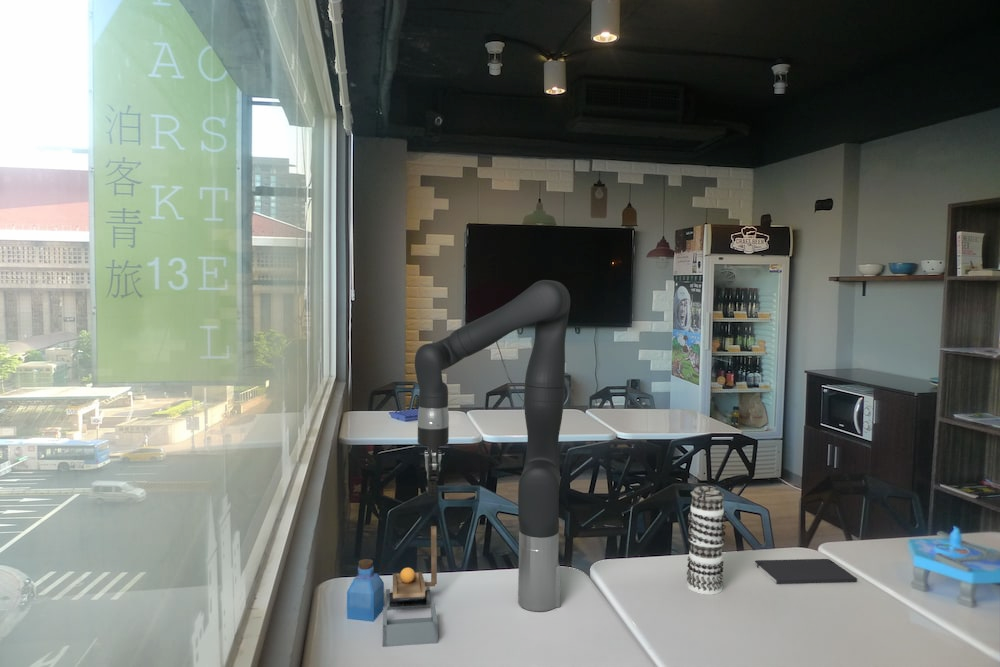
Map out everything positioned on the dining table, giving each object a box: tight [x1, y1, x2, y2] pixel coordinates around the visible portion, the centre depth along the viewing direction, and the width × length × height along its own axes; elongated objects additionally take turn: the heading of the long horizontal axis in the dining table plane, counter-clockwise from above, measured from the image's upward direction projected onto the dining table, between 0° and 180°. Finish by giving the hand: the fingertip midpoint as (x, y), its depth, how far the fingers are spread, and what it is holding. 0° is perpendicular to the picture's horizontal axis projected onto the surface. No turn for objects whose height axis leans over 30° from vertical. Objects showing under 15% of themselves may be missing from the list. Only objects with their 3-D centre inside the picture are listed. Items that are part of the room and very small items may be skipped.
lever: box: [392, 525, 438, 598], centre depth 160 cm, size 10×17×14 cm, turn 9°
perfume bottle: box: [346, 558, 385, 623], centre depth 154 cm, size 6×6×12 cm
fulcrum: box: [385, 587, 431, 611], centre depth 159 cm, size 10×5×3 cm, turn 99°
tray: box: [382, 603, 439, 648], centre depth 145 cm, size 11×10×4 cm
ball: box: [400, 567, 416, 583], centre depth 165 cm, size 4×4×4 cm
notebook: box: [754, 558, 858, 585], centre depth 180 cm, size 13×2×21 cm
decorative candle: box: [686, 485, 728, 596], centre depth 169 cm, size 9×9×25 cm
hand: (432, 494), depth 168 cm, fingers closed
